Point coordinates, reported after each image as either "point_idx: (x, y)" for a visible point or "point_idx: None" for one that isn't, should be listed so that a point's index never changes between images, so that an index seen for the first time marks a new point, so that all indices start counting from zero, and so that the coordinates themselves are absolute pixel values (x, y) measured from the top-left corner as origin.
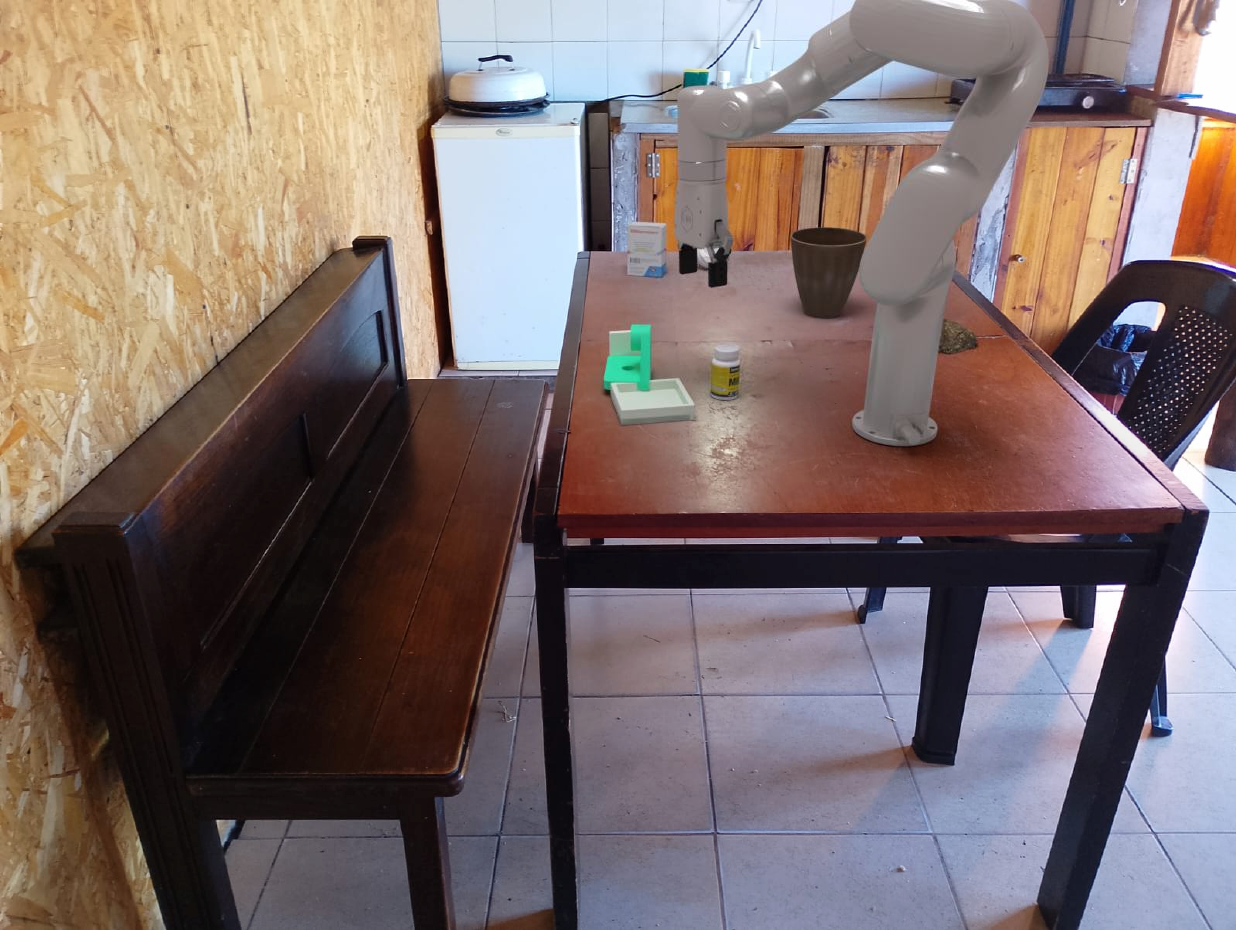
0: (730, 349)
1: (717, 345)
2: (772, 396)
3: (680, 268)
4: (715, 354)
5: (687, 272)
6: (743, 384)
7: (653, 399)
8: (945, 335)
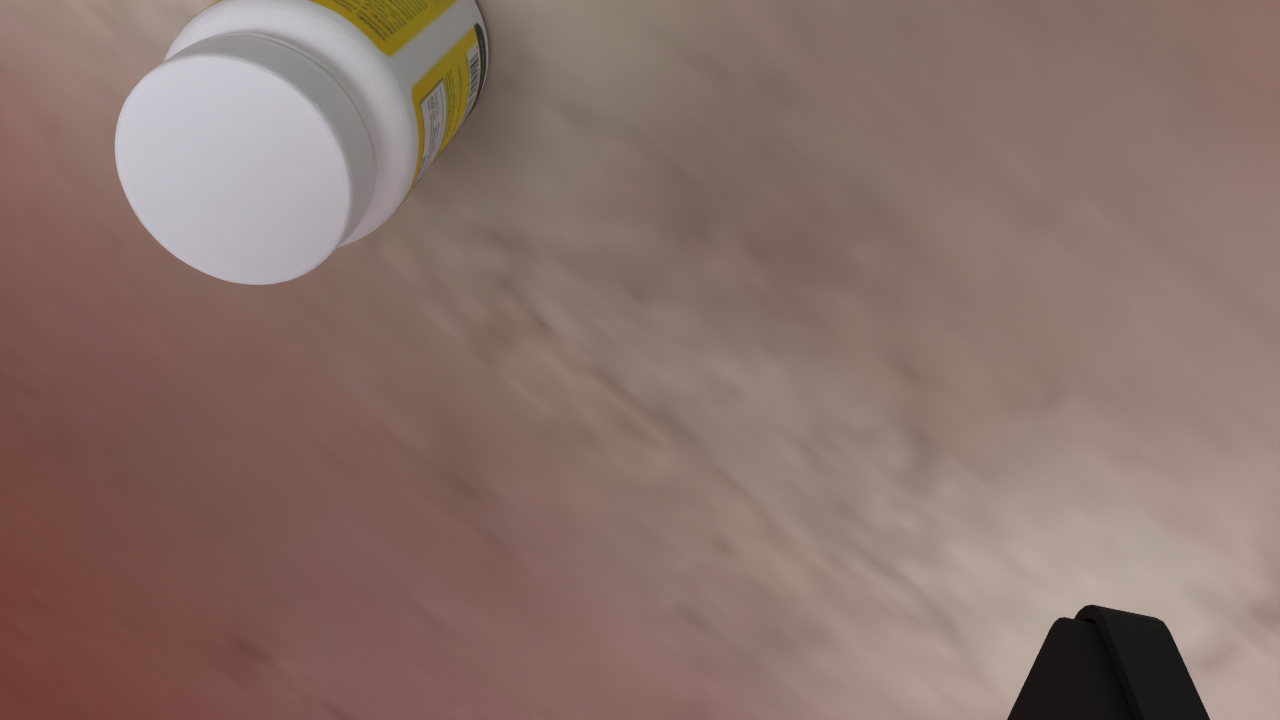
0: (174, 171)
1: (335, 153)
2: None
3: (1129, 684)
4: (264, 43)
5: (1017, 715)
6: (483, 282)
7: None
8: None
